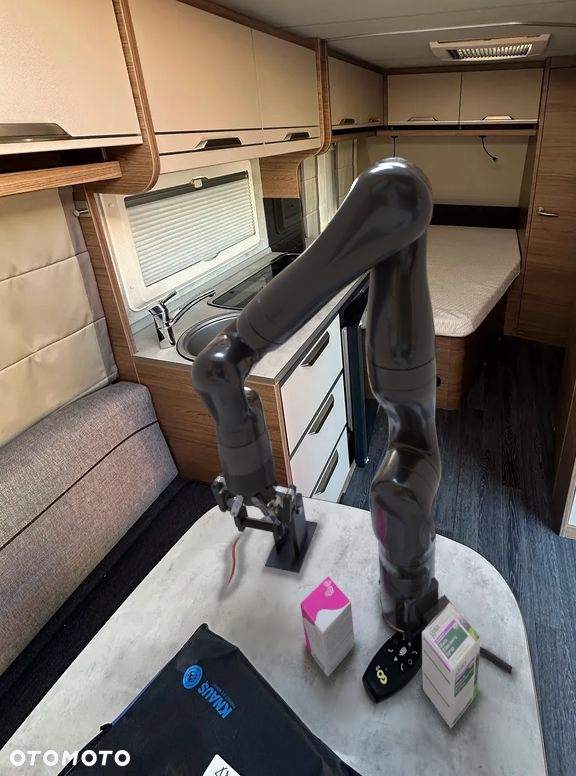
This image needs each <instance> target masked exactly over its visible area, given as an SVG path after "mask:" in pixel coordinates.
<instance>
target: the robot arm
mask: <svg viewBox="0 0 576 776" xmlns="http://www.w3.org/2000/svg"><path fill="white" fill-rule="evenodd" d="M434 205H435V204H434V191H433V188H432V184H431V182H430V179H429V177H428V176H427V174H426V173H425V172H424V171H423V169H422V168H420V166H418V165H417V164H416V163H414V162H412V161H411V160H409V159H406V158H403V157H398V156H397V157H396V156H391V157H390V156H389V157H385V158H383V159H380V160H377V161H376V162H374V163H373V164H371V165H370V166H368V167H367V168H366V169H364V170H363V171H362V172H361V173H360V174H359V175H358V176H357V178H356V179H354V181H353V184H352V186H351V187H350V190H349V192H348V194H347V196H346V197H345V199H344V200H343V202H342V203H341V205H340V206H339V208H338V209H337V211H336V212H335V213H334V215H333V217H331V219H330V221H329V222H328V223H327V225H326V226H325V228H324V229H323V230H322V231H321V233H320V234H319V235H318V236H317V238H315V240H314V241H313V242H312V243H311V244H310V245H309V246H308V248H306V249H305V250H304V251H303V252H302V253H301V254H300V255H299V256H298V257H297V258H296V259H294V260H293V262H291V263H289V264H288V265H287V266H286V267H285V268H284V269H283V270H282V271H280V272H279V273H278V274H276V275H275V276H274V278H272V279H271V280H270V281H269V282H268V283H267V284H266V285H265V286H264V287H263V288H262V289H261V290H260V291H259V292H258V293H257V294H256V295H255V296H254V297H253V298H252V299H251V300H250V301H249V302H248V303H247V304H246V306H244V308H242V310H241V312H240V313H239V315H237V316H236V317H235V318H234V319H233V320H232V321H231V322H230V323H228V325H226V326H225V327H224V328H223V329H222V330H221V331H220V332H219V333H218V334H217V335H216V336H215V337H214V338H213V339H212V340H211V341H210V342H209V343H208V344H207V345H206V347H204V348H203V349H202V350H201V351H200V352H199V353H198V354H197V356H196V357H195V358H194V359H193V362H192V364H191V368H190V383H191V387H192V389H193V391H194V393H195V394H196V396H197V397H198V399H199V400H200V402H201V404H202V405H203V407H204V408H205V410H206V411H207V412H208V414H209V415H210V417H211V418H212V423H213V429H214V432H215V436H216V437H215V438H216V443H217V453H218V459H219V462H220V465H221V466H220V467H221V471H222V472H220V473H219V474H218V475H217V476H216V477H215V479H214V481H212V484H211V485H210V488H211V492H212V494H213V496H214V498H215V502H216V505H217V506H218V509H219V511H220V512H222V513H227V512H229V514H230V516H231V517H233V521H234V526H235V527H236V528H237V531H238V532H241V533H244V532H245V530H246V528H247V527H243V526H241V522H242V519H243V517H245V516H246V517H249V513H248V509H247V507H254V508H256V509H259V511H260V512H261V513H262V515H263V517H264V516H265V517H267V516H269V518H270V519H271V520H272V522H273V528H274V534H275V538H276V539H281V536H283V535H284V533H285V531H286V529H287V524H290V522H291V519H292V517H293V515H294V513H295V510H296V494H297V486H296V485H295V484H294V483H293V484H292V483H290V484H289V485H288V487H285V486H280V483H279V481H278V480H277V478H276V465H275V457H274V453H273V447H272V440H271V435H270V432H269V428H268V425H267V423H266V416H265V410H264V405H263V400H262V398H261V395H260V393H259V392H258V391H257V390H256V389H254V388H252V387H249V386H246V385H245V383H246V381H247V379H248V378H249V377H250V376H251V374H252V372H253V371H254V370H255V368H256V367H257V366H258V364H259V363H260V362H261V361H262V359H263V358H265V357H266V355H268V354H270V353H273V352H275V351H277V350H278V349H280V348H281V347H283V346H284V345H285V344H286V343H287V342H288V341H290V340H291V339H292V338H293V337H294V336H296V334H297V333H298V332H299V331H301V330H302V329H303V328H304V327H305V326H306V325H307V324H308V323H309V322H311V320H312V319H313V318H314V317H315V316H316V315H317V314H319V313H320V312H321V311H322V310H323V309H324V308H325V307H326V306H327V305H328V304H329V303H330V302H331V301H332V300H333V299H334V298H335V297H336V296H338V295H339V294H340V293H341V292H342V291H343V290H345V289H346V288H347V287H348V286H350V285H351V284H352V283H354V282H355V281H356V280H357V279H360V277H363V276H364V274H366V273H367V272H369V287H368V297H367V299H368V300H367V307H366V319H365V320H366V321H365V358H366V367H367V378H368V383H369V387H370V389H371V393H372V394H373V396H374V398H375V399H376V401H377V403H378V404H379V405H380V406H381V408H382V409H384V411H385V412H386V415H387V421H388V441H387V443H388V444H387V448H386V452H385V455H384V457H383V459H382V461H381V463H380V465H379V467H378V469H377V471H376V473H375V475H374V477H373V479H372V482H371V484H370V487H369V491H368V492H369V493H368V500H369V501H368V502H369V504H368V505H369V512H370V520H371V528H372V531H373V534H374V536H375V538H376V540H377V547H378V548H377V549H378V566H379V580H378V586H379V588H380V589H379V590H380V608H381V615H382V617H383V619H384V622H385V623H386V624H387V626H388V627H389V628H390V629H391V630H392V631H394V632H395V633H396V634H399V635H401V636H404V637H405V638H406V639H407V641H408V642H409V643H410V642H412V641H413V640H415V639H416V637H412V638H411V639H409V638H408V637H411V636H412V635H413V634H414V633H416V632H417V631H418V630H419V629H420V628H421V627H422V626H423V627H424V628H426V627H427V626H428V625H429V624H430V622H431V621H432V620H433V619H434V618H435V617H436V616H437V615H438V614H439V613H440V612H441V611H442V610H443V609H444V608H445V607H446V606H447V605H448V604H449V603H451V604H452V602H451V601H450V600H449V598H448V597H447V595H446V594H443V595H442V596H440V597H439V589H440V583H439V581H438V579H437V578H436V577H435V575H436V543H437V528H436V524H435V521H434V519H433V516H432V511H433V508H434V505H435V501H436V498H437V494H438V491H439V488H440V485H441V480H442V471H443V470H442V460H441V453H440V448H439V442H438V434H437V427H436V411H437V410H436V409H437V381H438V380H437V379H438V377H437V376H438V370H437V369H438V368H437V366H438V365H437V339H436V330H435V329H436V328H435V321H434V320H435V319H434V312H433V304H432V298H431V292H430V285H429V278H428V266H427V264H428V261H427V260H428V256H427V255H428V240H429V227H430V224H431V221H432V218H433V215H434V207H435V206H434ZM280 500H281V501H280ZM275 509H277V510H278V512H277V514H276V512H275ZM452 606H453V607H454V605H453V604H452ZM403 632H405V633H406V634H407V635H408V637H407V635H406V634H405V633H403ZM420 634H422V632H420ZM416 636H417V637H418V636H419V635H418V634H417V635H416ZM480 654H481V655H482V656H484V657H486V658H487V659H489V660H490V661H492V662H493V663H495V664H496V665H498V666H499V667H500V668H502V669H503V670H505V671H507V672H508V673H509V674H512V671H513V666H512V665H510V664H509V663H507V662H506V661H504V660H503V659H501V658H500V657H498V656H497V655H495V654H494V653H492V652H491V651H489V650H488V649H486V648H484V647H482V646H480V653H479V655H480Z"/></svg>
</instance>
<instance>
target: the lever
mask: <svg viewBox="0 0 576 776" xmlns="http://www.w3.org/2000/svg"><path fill="white" fill-rule="evenodd" d="M275 512H276V514H277V512H278V510H277V509H276V510H275ZM241 526H243V527H246V528H248V529H252V530H253V529H254V530H257V531H258V530H259V531H263V532H269V533H272V534H273V533H274V528H273V522H272V520H271V519H270V518H269V516H267V517H265V516H264V515H263V516H262V517H261V518H255V517H249V516H248V517H246V516H245V517H243V519H242V522H241Z"/></svg>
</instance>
